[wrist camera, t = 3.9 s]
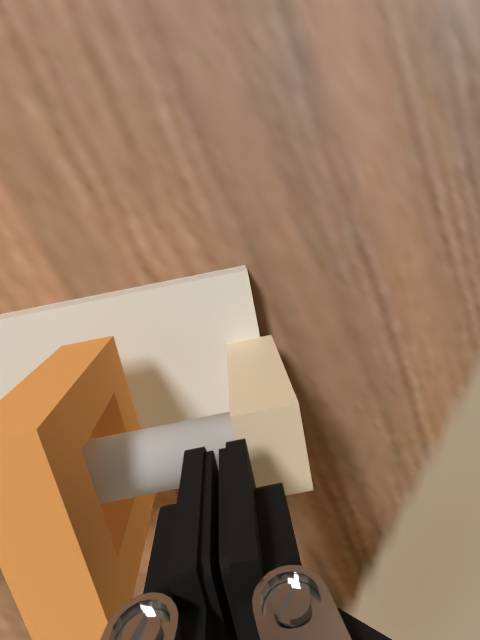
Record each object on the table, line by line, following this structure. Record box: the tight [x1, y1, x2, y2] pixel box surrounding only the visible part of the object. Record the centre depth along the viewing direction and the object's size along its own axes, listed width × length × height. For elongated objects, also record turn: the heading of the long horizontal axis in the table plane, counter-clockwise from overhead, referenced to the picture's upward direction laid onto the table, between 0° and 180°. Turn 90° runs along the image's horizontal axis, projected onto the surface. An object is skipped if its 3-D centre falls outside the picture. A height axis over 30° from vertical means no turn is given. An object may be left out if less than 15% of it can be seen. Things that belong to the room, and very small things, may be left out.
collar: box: [0, 336, 156, 640], centre depth 13 cm, size 2×7×7 cm, turn 11°
